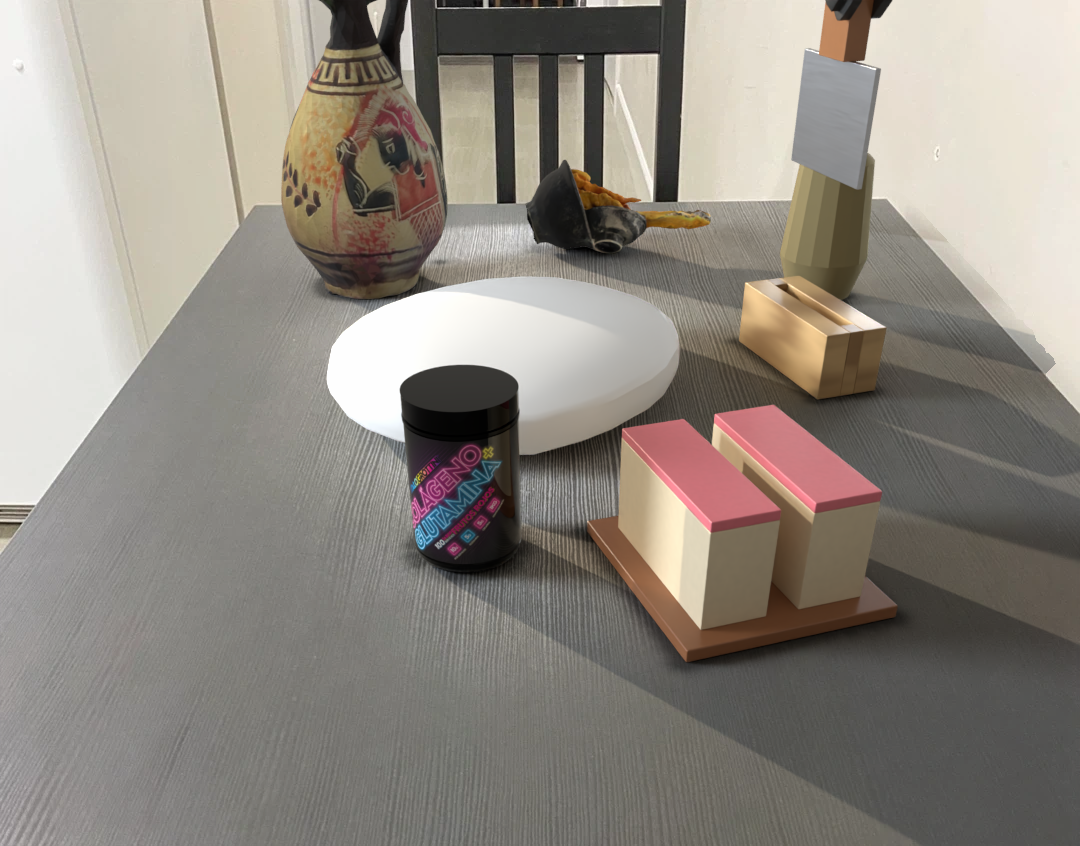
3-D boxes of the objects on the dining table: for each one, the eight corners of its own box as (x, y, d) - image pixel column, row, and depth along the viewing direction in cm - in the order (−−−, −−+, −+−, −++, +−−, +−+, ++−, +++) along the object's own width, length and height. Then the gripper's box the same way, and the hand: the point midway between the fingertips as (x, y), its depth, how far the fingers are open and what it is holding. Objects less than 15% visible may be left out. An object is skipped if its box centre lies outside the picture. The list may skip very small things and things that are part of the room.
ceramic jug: (348, 324, 99) (299, -86, 80) (267, 282, 108) (205, -94, 89) (497, 284, 107) (484, -96, 88) (409, 248, 116) (381, -102, 97)
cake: (586, 531, 69) (588, 421, 65) (769, 498, 72) (783, 391, 68) (686, 663, 58) (697, 542, 54) (896, 617, 62) (924, 499, 57)
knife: (783, 161, 79) (811, -78, 70) (803, 159, 79) (833, -79, 71) (848, 190, 72) (889, -69, 64) (869, 188, 73) (912, -70, 64)
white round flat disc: (561, 441, 68) (245, 364, 79) (566, 527, 73) (266, 443, 84) (739, 271, 85) (457, 226, 96) (734, 350, 90) (466, 299, 100)
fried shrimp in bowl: (515, 188, 117) (674, 123, 115) (550, 291, 120) (706, 229, 118) (511, 173, 109) (683, 102, 106) (549, 284, 112) (717, 217, 109)
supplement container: (393, 545, 68) (376, 383, 62) (480, 511, 71) (473, 355, 65) (454, 590, 64) (443, 422, 58) (544, 553, 67) (543, 390, 61)
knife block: (738, 341, 95) (744, 282, 92) (791, 333, 96) (799, 275, 93) (817, 399, 85) (827, 336, 82) (875, 390, 86) (887, 327, 83)
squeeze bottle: (811, 275, 108) (842, 66, 97) (878, 295, 103) (918, 78, 92) (757, 292, 104) (781, 77, 93) (823, 314, 100) (858, 90, 88)
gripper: (722, -304, 64) (795, -33, 63) (923, -301, 67) (997, -43, 66) (678, -185, 71) (744, 60, 70) (862, -188, 75) (927, 46, 73)
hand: (866, 9), depth 68 cm, fingers closed on knife, 1 cm apart
